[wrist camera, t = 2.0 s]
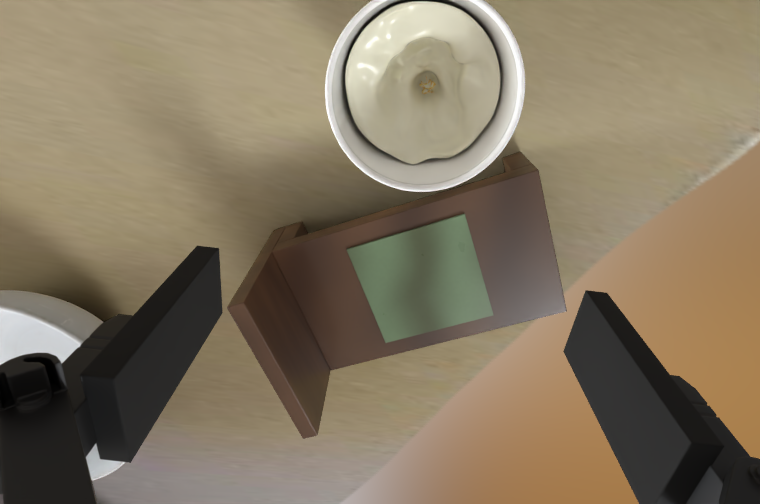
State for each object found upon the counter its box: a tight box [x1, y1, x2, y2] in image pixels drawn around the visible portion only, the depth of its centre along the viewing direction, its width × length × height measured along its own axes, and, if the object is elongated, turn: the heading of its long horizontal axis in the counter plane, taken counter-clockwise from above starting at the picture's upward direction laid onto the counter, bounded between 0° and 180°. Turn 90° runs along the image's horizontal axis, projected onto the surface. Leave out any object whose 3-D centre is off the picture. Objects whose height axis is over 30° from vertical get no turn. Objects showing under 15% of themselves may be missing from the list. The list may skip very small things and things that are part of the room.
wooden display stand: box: [227, 152, 567, 439], centre depth 34 cm, size 21×12×12 cm, turn 109°
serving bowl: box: [0, 290, 125, 481], centre depth 43 cm, size 21×21×7 cm
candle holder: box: [325, 0, 525, 192], centre depth 28 cm, size 10×10×12 cm
